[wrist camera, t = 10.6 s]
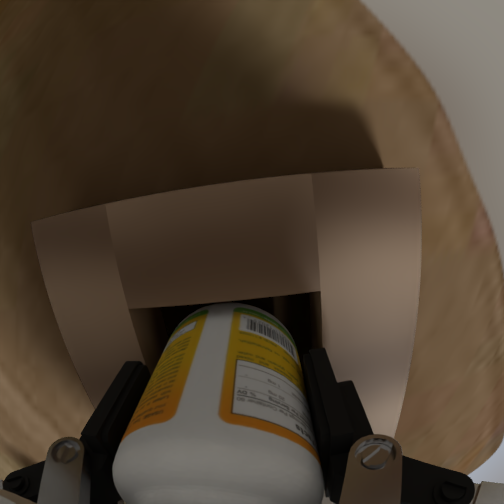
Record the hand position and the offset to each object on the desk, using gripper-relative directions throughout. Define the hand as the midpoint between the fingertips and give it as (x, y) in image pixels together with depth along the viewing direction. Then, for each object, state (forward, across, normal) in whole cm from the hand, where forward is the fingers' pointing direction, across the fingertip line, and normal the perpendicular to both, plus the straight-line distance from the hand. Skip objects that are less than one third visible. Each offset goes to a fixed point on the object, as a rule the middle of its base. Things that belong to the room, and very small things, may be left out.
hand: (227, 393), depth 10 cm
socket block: (+4, 0, 0) cm, 4 cm away
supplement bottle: (+3, 0, 0) cm, 3 cm away
